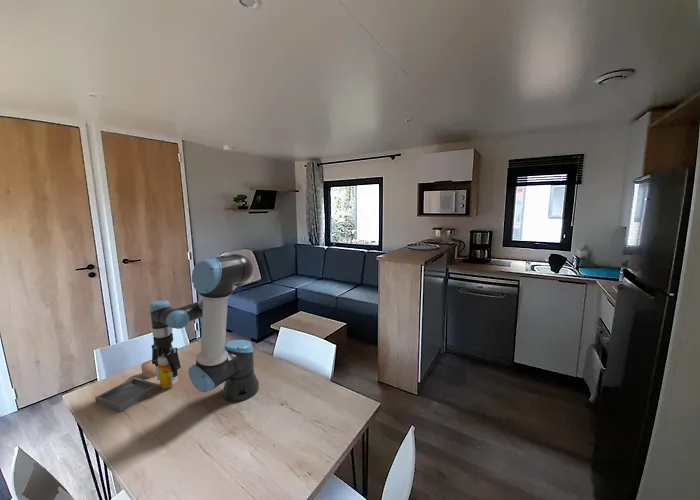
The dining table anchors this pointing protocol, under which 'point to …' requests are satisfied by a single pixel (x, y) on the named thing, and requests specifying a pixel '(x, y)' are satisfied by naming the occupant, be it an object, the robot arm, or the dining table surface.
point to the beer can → (164, 372)
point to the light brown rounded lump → (148, 370)
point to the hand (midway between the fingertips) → (167, 380)
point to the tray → (126, 394)
